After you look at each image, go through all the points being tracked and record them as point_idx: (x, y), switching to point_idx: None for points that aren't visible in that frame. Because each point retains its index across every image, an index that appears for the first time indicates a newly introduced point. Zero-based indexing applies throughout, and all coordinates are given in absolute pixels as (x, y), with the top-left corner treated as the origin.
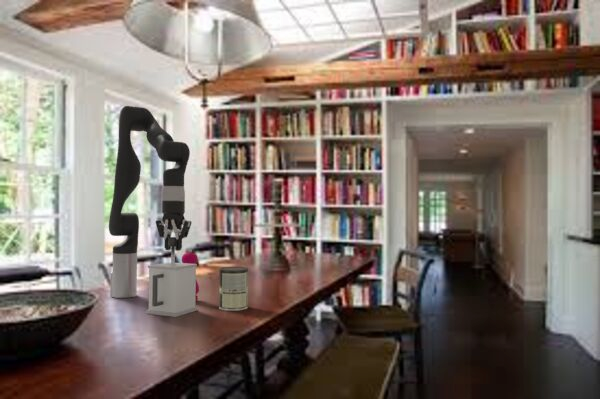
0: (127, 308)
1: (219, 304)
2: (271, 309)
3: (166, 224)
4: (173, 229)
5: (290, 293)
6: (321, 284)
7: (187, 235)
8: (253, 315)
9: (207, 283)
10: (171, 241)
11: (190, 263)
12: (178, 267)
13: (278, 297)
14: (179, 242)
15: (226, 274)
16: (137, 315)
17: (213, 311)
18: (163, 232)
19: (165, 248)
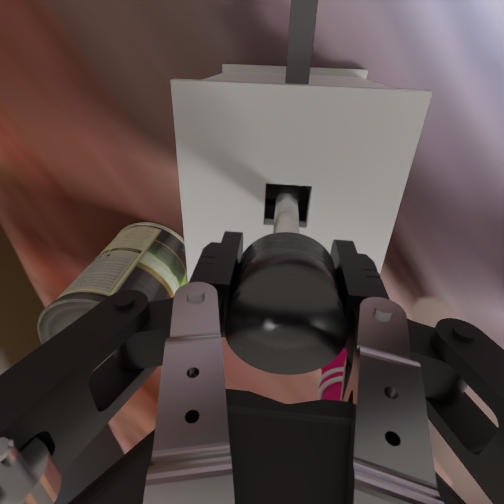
0: (491, 126)
1: (177, 243)
2: (59, 274)
3: (394, 477)
4: (220, 369)
5: (152, 426)
6: None
7: (115, 364)
8: (37, 192)
9: None
10: (268, 259)
11: (330, 391)
12: (173, 109)
13: (145, 390)
14: (192, 276)
15: (91, 289)
16: (383, 19)
17: (171, 198)
18: (466, 414)
19: (351, 244)
